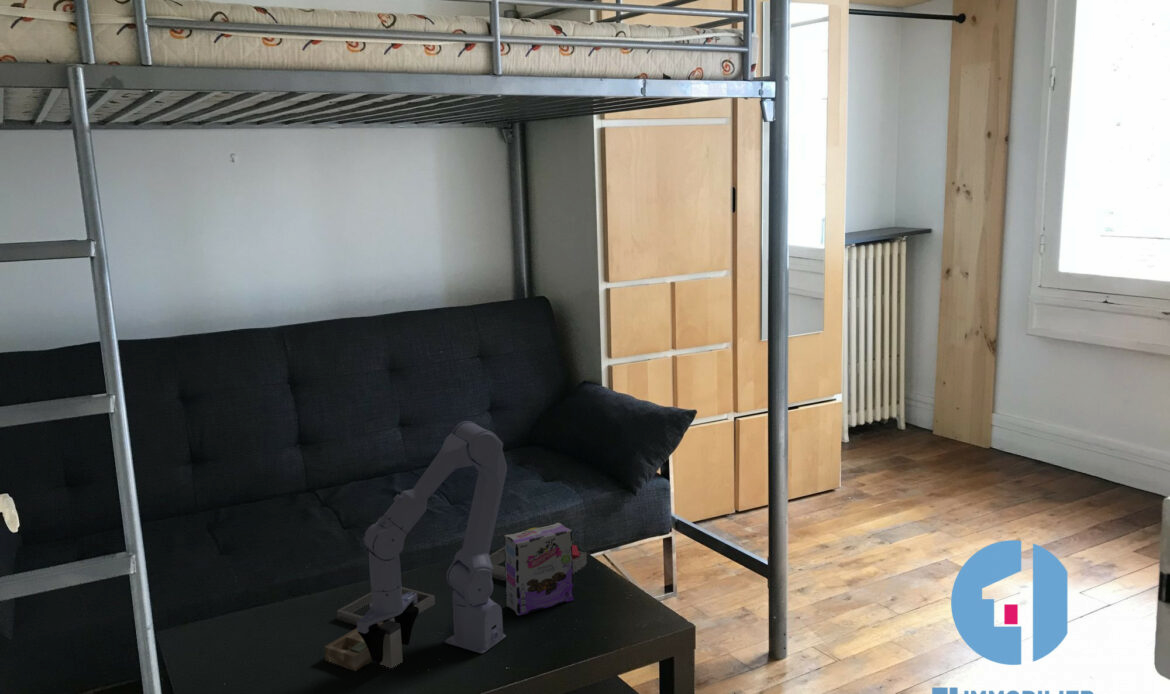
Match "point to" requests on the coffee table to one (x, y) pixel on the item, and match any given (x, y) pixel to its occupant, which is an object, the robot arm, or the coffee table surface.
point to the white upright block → (391, 644)
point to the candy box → (538, 568)
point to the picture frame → (347, 611)
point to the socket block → (349, 651)
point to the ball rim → (500, 570)
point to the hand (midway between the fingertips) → (390, 651)
